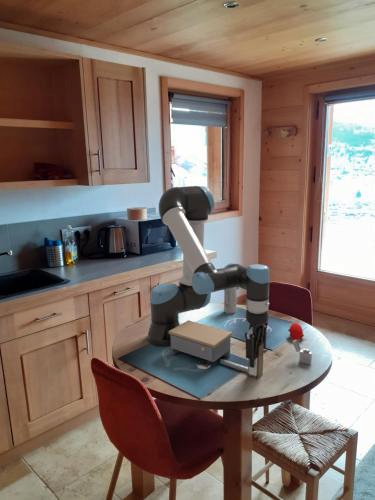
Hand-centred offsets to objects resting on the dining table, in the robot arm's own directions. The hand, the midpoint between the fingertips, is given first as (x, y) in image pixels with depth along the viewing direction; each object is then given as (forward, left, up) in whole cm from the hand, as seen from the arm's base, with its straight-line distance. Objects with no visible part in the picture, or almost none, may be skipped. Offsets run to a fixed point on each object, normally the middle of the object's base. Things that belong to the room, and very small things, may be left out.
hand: (255, 371), depth 136 cm
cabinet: (-24, +1, -1) cm, 24 cm away
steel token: (-18, -5, -1) cm, 19 cm away
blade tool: (-6, 0, -1) cm, 6 cm away
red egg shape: (+1, +37, -1) cm, 37 cm away
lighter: (+10, +19, -1) cm, 21 cm away
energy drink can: (-37, +47, -1) cm, 59 cm away
